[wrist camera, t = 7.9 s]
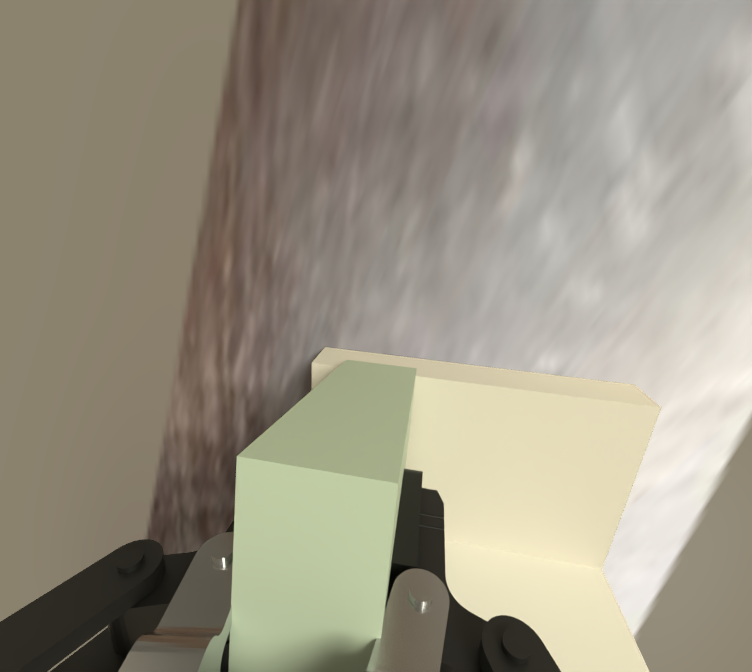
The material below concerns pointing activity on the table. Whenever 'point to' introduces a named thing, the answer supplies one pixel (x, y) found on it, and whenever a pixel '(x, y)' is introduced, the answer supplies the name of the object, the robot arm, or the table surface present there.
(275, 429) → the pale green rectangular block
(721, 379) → the table surface
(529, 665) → the robot arm
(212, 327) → the table surface
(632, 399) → the cream peg stand
